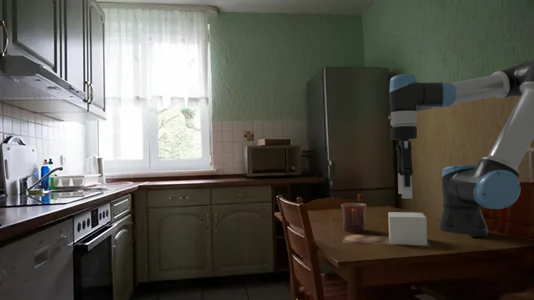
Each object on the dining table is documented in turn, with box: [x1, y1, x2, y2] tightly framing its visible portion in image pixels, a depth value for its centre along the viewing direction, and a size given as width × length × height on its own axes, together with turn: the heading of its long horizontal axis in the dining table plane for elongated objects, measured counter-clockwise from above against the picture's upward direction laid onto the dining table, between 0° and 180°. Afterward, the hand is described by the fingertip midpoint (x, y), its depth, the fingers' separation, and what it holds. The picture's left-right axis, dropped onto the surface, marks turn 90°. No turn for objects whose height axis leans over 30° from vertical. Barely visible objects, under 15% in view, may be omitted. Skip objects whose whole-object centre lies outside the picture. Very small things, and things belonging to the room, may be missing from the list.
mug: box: [340, 202, 367, 234], centre depth 129 cm, size 12×9×10 cm
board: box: [342, 234, 432, 247], centre depth 114 cm, size 25×11×2 cm, turn 75°
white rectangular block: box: [387, 211, 428, 246], centre depth 112 cm, size 10×9×8 cm
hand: (404, 196), depth 113 cm, fingers open, 13 cm apart
